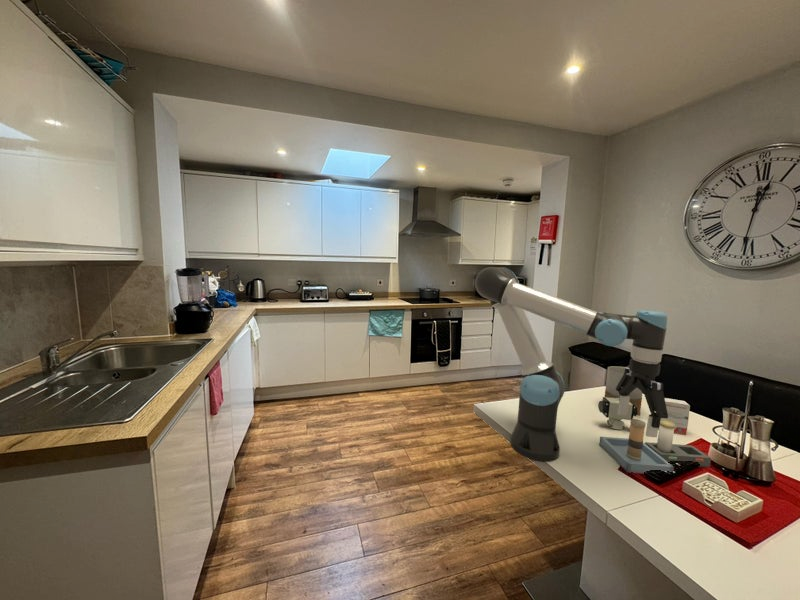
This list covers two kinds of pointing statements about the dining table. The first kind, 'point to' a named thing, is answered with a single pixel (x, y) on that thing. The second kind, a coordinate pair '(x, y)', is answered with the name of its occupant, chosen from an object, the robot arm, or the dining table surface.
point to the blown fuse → (635, 439)
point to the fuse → (665, 436)
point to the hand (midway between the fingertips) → (635, 424)
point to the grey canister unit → (611, 383)
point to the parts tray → (647, 462)
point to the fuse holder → (682, 454)
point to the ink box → (677, 414)
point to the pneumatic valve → (616, 412)
